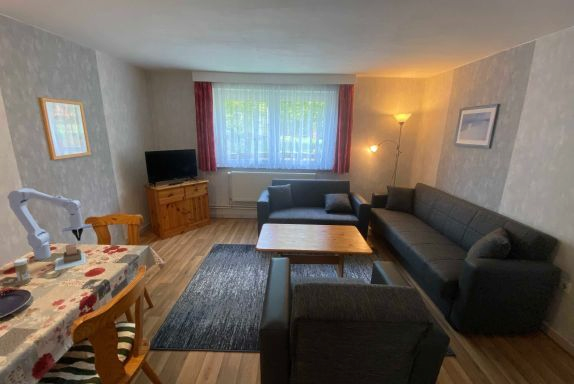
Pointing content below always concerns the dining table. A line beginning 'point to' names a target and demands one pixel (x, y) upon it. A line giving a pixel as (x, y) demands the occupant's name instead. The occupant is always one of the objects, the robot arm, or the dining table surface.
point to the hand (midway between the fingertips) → (79, 240)
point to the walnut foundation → (72, 257)
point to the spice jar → (22, 271)
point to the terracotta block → (71, 249)
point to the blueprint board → (61, 265)
